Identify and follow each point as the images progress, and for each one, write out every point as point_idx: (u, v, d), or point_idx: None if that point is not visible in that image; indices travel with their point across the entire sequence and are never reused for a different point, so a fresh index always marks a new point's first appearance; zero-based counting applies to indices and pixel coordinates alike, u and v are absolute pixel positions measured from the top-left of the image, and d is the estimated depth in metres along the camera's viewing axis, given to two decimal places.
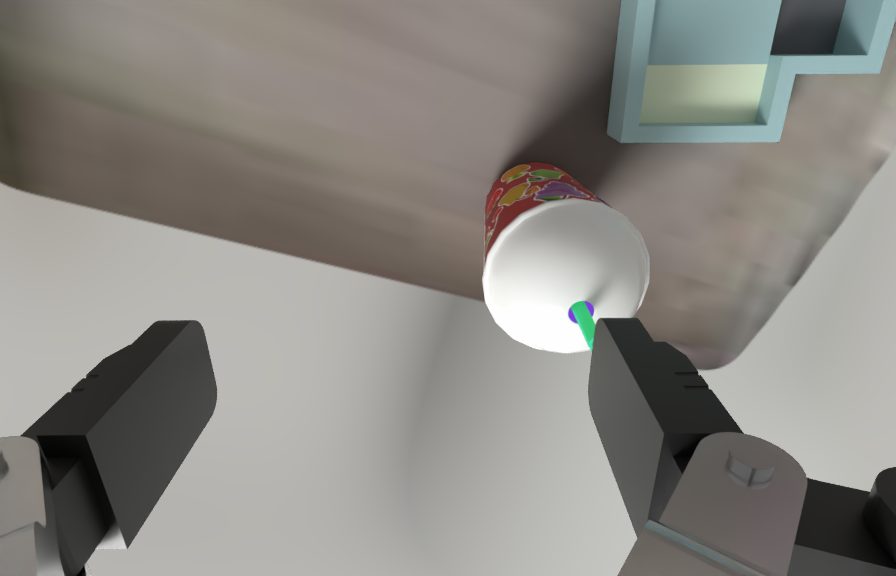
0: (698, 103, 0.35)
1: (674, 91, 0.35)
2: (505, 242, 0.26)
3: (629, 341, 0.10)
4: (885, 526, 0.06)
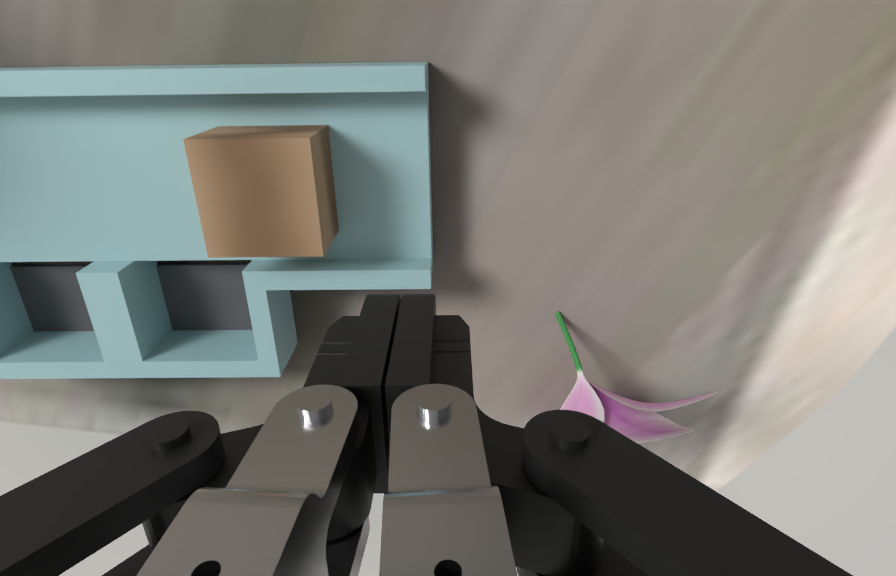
0: None
1: None
2: None
3: (412, 313, 0.11)
4: (543, 477, 0.07)
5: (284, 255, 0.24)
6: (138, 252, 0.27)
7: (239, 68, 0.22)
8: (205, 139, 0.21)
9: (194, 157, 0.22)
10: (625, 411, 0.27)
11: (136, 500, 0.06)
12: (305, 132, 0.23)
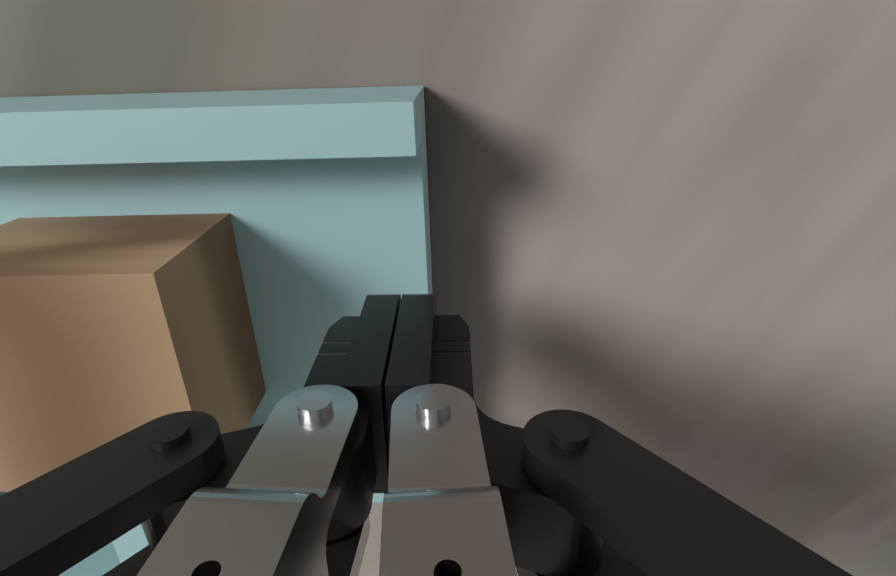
0: None
1: None
2: None
3: (411, 313, 0.11)
4: (543, 477, 0.07)
5: None
6: None
7: (15, 113, 0.10)
8: None
9: None
10: None
11: (136, 499, 0.06)
12: (162, 246, 0.11)
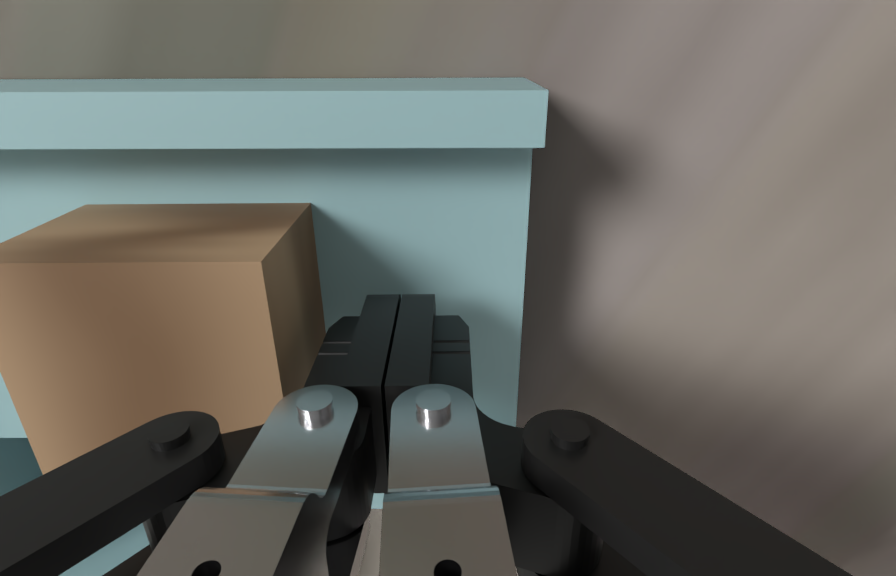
0: None
1: None
2: None
3: (411, 313, 0.11)
4: (542, 477, 0.07)
5: None
6: None
7: (124, 93, 0.10)
8: (9, 264, 0.09)
9: None
10: None
11: (136, 499, 0.06)
12: (257, 234, 0.10)
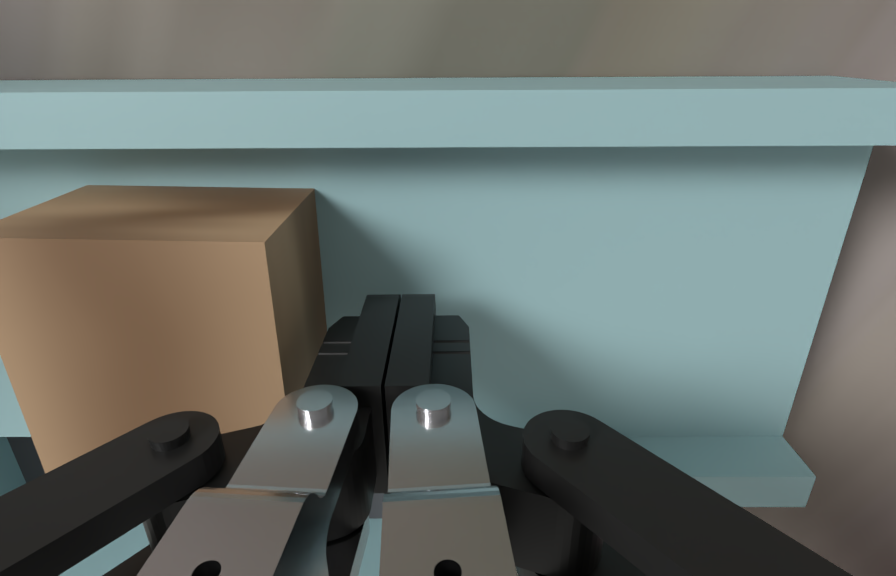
0: None
1: None
2: None
3: (411, 313, 0.11)
4: (542, 477, 0.07)
5: None
6: None
7: (527, 91, 0.10)
8: (10, 239, 0.09)
9: None
10: None
11: (137, 499, 0.06)
12: (260, 217, 0.10)
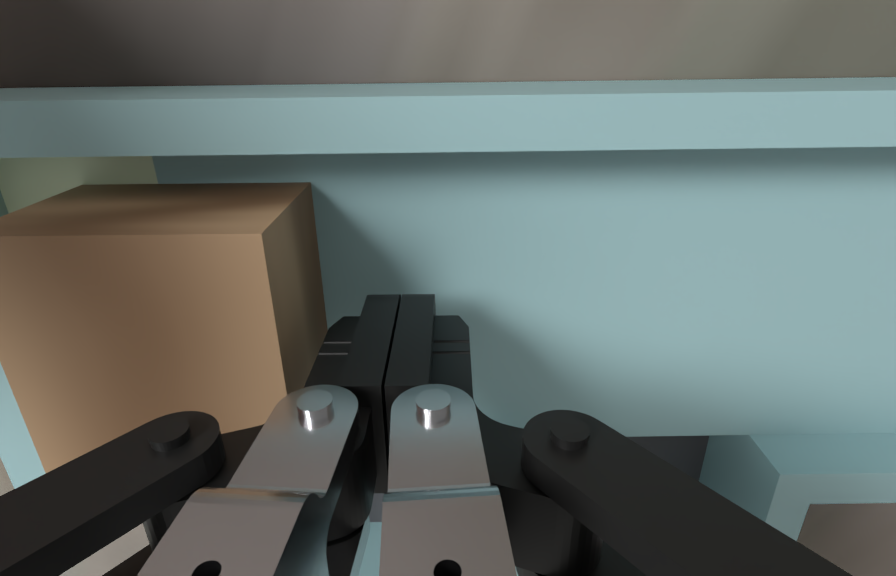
0: None
1: None
2: None
3: (411, 313, 0.11)
4: (542, 477, 0.07)
5: None
6: None
7: None
8: (4, 237, 0.09)
9: None
10: None
11: (137, 500, 0.06)
12: (256, 210, 0.10)
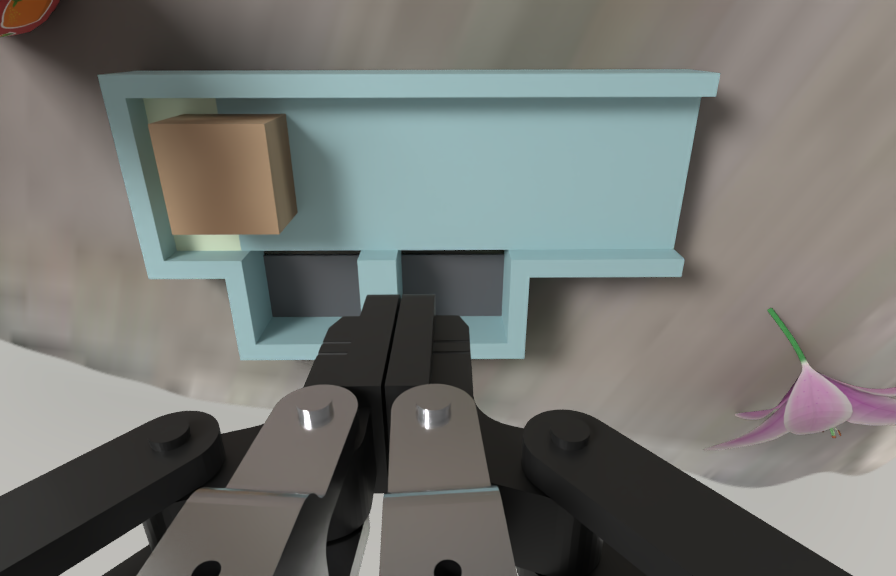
0: None
1: None
2: None
3: (411, 313, 0.11)
4: (543, 477, 0.07)
5: (243, 233, 0.26)
6: (404, 242, 0.29)
7: (551, 74, 0.25)
8: (168, 124, 0.23)
9: (158, 141, 0.24)
10: (860, 396, 0.30)
11: (137, 499, 0.06)
12: (262, 119, 0.25)
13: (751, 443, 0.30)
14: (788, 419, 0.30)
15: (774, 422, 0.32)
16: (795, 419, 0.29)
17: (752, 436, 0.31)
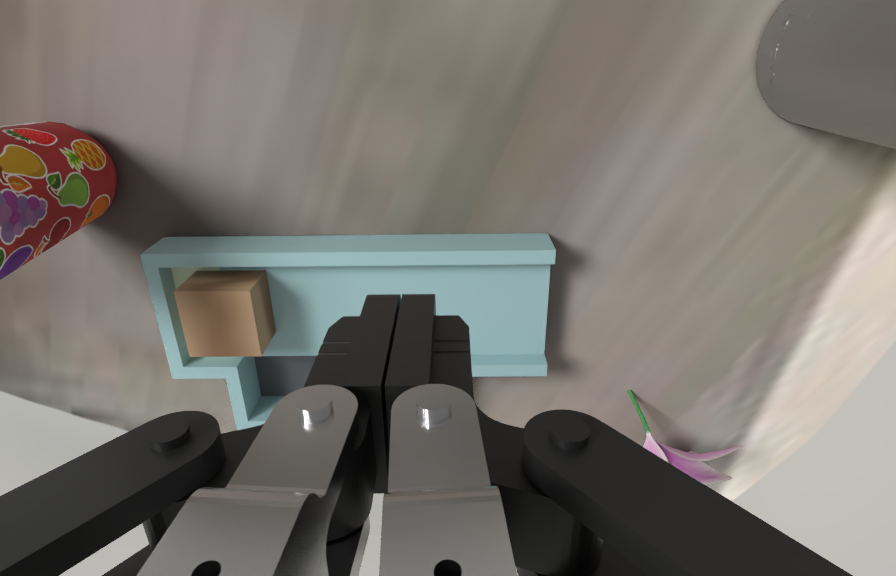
0: None
1: None
2: None
3: (411, 313, 0.11)
4: (543, 477, 0.07)
5: (237, 355, 0.38)
6: None
7: (442, 251, 0.37)
8: (187, 291, 0.36)
9: (180, 301, 0.36)
10: (681, 461, 0.41)
11: (137, 499, 0.06)
12: (249, 282, 0.37)
13: None
14: None
15: None
16: None
17: None
